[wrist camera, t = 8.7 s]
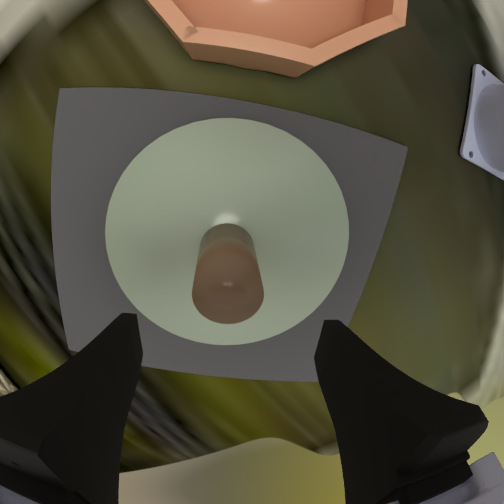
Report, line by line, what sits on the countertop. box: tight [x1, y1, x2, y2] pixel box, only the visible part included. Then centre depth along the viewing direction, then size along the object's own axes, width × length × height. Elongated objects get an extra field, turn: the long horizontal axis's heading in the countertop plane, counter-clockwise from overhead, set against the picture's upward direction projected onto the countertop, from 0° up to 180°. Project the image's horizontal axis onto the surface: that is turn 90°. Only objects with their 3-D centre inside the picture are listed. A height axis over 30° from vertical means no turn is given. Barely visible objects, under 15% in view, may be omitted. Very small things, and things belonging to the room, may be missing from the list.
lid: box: [105, 118, 349, 345], centre depth 16 cm, size 15×15×6 cm
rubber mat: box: [51, 87, 408, 382], centre depth 19 cm, size 22×20×1 cm
